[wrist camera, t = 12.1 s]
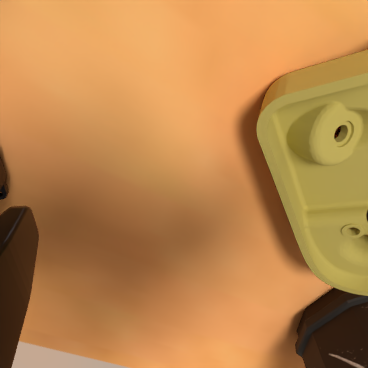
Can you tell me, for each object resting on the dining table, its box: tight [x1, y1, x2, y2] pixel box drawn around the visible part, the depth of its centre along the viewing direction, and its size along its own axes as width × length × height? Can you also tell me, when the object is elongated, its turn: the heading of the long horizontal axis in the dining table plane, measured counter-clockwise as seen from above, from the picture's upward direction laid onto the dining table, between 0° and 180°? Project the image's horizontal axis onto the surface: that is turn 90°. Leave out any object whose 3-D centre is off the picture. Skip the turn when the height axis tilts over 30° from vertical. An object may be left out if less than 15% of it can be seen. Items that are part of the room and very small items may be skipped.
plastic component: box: [256, 50, 368, 296], centre depth 24 cm, size 20×7×10 cm
